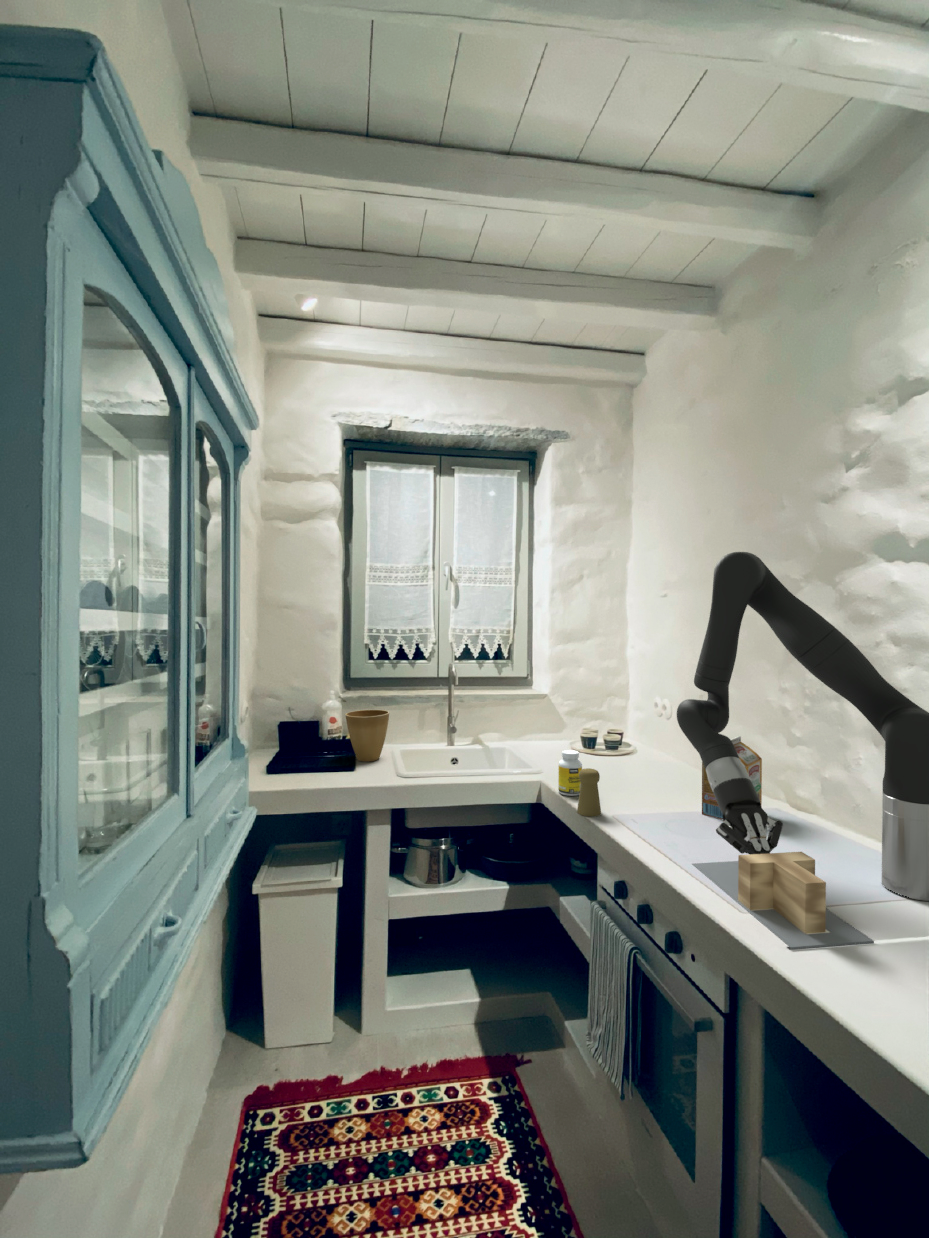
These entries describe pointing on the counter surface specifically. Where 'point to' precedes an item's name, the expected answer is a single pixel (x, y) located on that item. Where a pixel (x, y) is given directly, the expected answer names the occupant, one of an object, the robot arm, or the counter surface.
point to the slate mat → (835, 926)
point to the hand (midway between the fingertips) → (769, 874)
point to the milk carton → (754, 770)
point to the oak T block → (784, 888)
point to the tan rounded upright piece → (589, 793)
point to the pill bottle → (569, 773)
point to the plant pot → (367, 732)
